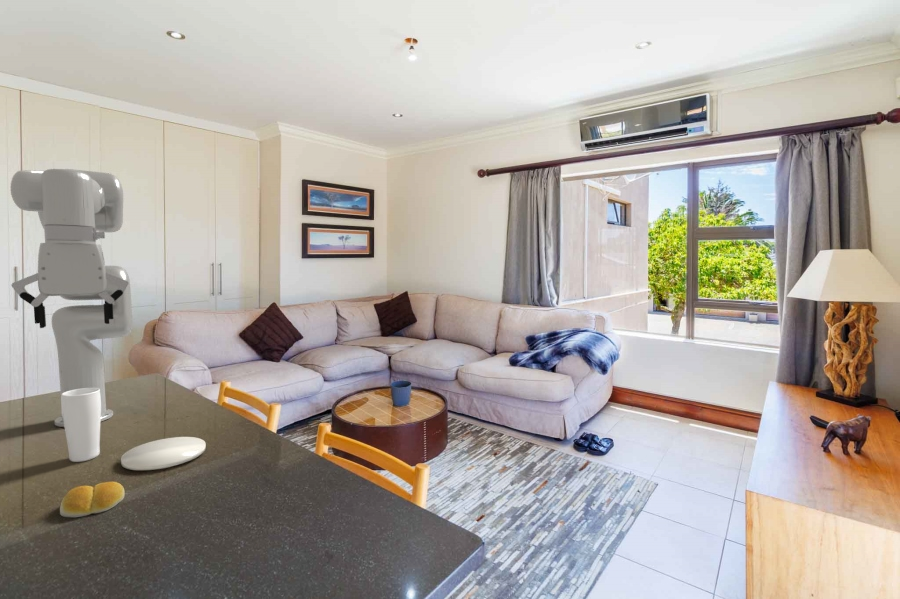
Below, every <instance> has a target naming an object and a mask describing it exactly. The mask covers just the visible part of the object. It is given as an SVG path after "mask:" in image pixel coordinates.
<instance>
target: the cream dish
mask: <svg viewBox="0 0 900 599" xmlns="http://www.w3.org/2000/svg"><path fill="white" fill-rule="evenodd" d="M206 446H207V445H206V441H205V440H204V439H203V438H202V439H201V438H199V437H194V436H175V437H168V438H167V437H166V438H162V439H157V440H153V441H149V442H146V443H143V444H139V445H137V446H134V447H133V448H131V449H129V450H127V451H126V452H125V453H123V454H122V456H120V464H121V466H122V467H123V468H125V469H127V470H132V471H152V470H160V469H161V470H162V469H166V468H171V467H174V466H178V465H181V464H184V463H186V462H189V461H190V462H191V461H192V460H194V459H196V458H197V457H199V456H201V455H202V454H203V453H204V452H205V451H206V449H207V448H206Z"/></svg>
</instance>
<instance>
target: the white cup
mask: <svg viewBox="0 0 900 599" xmlns="http://www.w3.org/2000/svg"><path fill="white" fill-rule="evenodd" d="M60 407H62V409H61V416H63V422H64V427H63V428H64V432H65V438H66V443H67V451H68V460H69V461H70V462H73V463H82V462H87V461H91V460H92V459H94V458H97V457H99V455H100V453H101V448H100V447H101V446H100V443H101V442H100V440H101V422H102V421H101V395H100V389H99V388H81V389H75V390H70V391H67V392H64V393H62V395H61V394H60Z"/></svg>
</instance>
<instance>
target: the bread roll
mask: <svg viewBox="0 0 900 599" xmlns="http://www.w3.org/2000/svg"><path fill="white" fill-rule="evenodd" d="M124 498H125V488H124V486H123V485H122V484H121V483H119V482H118V481H105V482H104V481H103V482H99V483H98V484H94V486H91V485H81V486H75V487H74V488H73V487H72V488H71V489H70V490H69V491H68V492H67V493H66V494H65V496H64V497H62V501H61V503H60V507H59V515H61V516H62V517H63V518H80V517H85V516H86V517H87V516H89V515H91V514H100V513H104V512H106V511H109V510H111V509H112V508H114V507H115V506H117V505H118V504H119V503H120V502H122V501H123V500H124Z"/></svg>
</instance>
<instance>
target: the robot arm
mask: <svg viewBox="0 0 900 599" xmlns="http://www.w3.org/2000/svg"><path fill="white" fill-rule="evenodd" d="M10 195H11V198H12V201H13V202H14V203H15V206H17V207H18V208H19V209H20V210H23V211H27V212H36V213H37V214H38V218H39V220H40V221H39V222H40V224H41V226H42V228H43V231H44V242H40V244H39V248H38V255H37V272H36V273H34V274H32V275H29V276H27V277H24V278H21V279H19V280H16V281H15V282H12V283H11V284H10V285H11V287H12V289H13V290H14V291H15V293H16V294H17V295H18V296H19V298H20V299H22V300H23V301H25V302H26V303H27V304H29V305H31V307H33V313H34V314H33V315H34V316H33V317H34V323H35V324H36V325H37V324H39V328H40V329H44V328H46V326H47V321H46V306H45V305H44V303H43V302H44V301H46V299H47V298H49V297H61V298H62V299H64V300H65V301H66V300H68V301H97V300H99V301H100V300H103V301H104V303H103V304H85V305H84V304H81V305H69V306H64V307H61V308H59V309H56V310H55V311H54V312H53V313H52V316H51V327H52V332H53V335H54V339H55V344H56V350H57V358H58V359H57V360H58V375H59V389H60V390H59V392H60V396H61V395H62V393H64V392H67V391H70V390H75V389H81V388H99V389H100V395H101V422H104V421H107V420H109V419H111V418H112V417H113V416H114V411H113V409H109V408H107V404H106V403H107V400H106V386H105V385H106V381H105V364H104V356H103V353H102V351H101V349H99V347H97V346H96V345H94V344H93V343H92V342H91V341H95V340H104V339H117V338H124V337H127V336H129V335H130V334H131V333H132V331H133V324H134V323H133V320H134V319H133V308H132V307H133V306H132V293H131V291H132V290H131V282H130V276H129V273H128V272H127V270H126V269H125V268H123V267H121V266H119V265H106V264H105V258H104V252H103V248H102V245H101V244H98V243H97V240H100V239H106V238H105V237H106V235H105V233H116V232H118V231H120V230H121V229H122V227H123V222H124V221H123V220H124V190H123V187H122V183H121V181H120V180H119V178H117V176H116V175H114V174H112V173H110V172H109V173H108V172H99V171H93V170H92V171H91V170H81V169H73V168H65V169H64V168H49V169H46V170H36V169H35V170H33V169H32V170H31V169H30V170H29V169H28V170H23V169H22V170H18V171H16V172H15V173H14V174H13V176H12V177H11V181H10ZM35 282H37V288H38V292H39V294H38V295H37V296H33V295H32V294H30V293H29V292H28V290H26V288H25V287H26V286H28V285H30V284H33V283H35ZM60 407H61V406H60ZM61 410H62V407H61ZM54 425H55V426H56V427H60V428H61V427H62V428H65V427H64V422H63V416H62V415H60V416H58V417H56V418H55V419H54Z"/></svg>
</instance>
